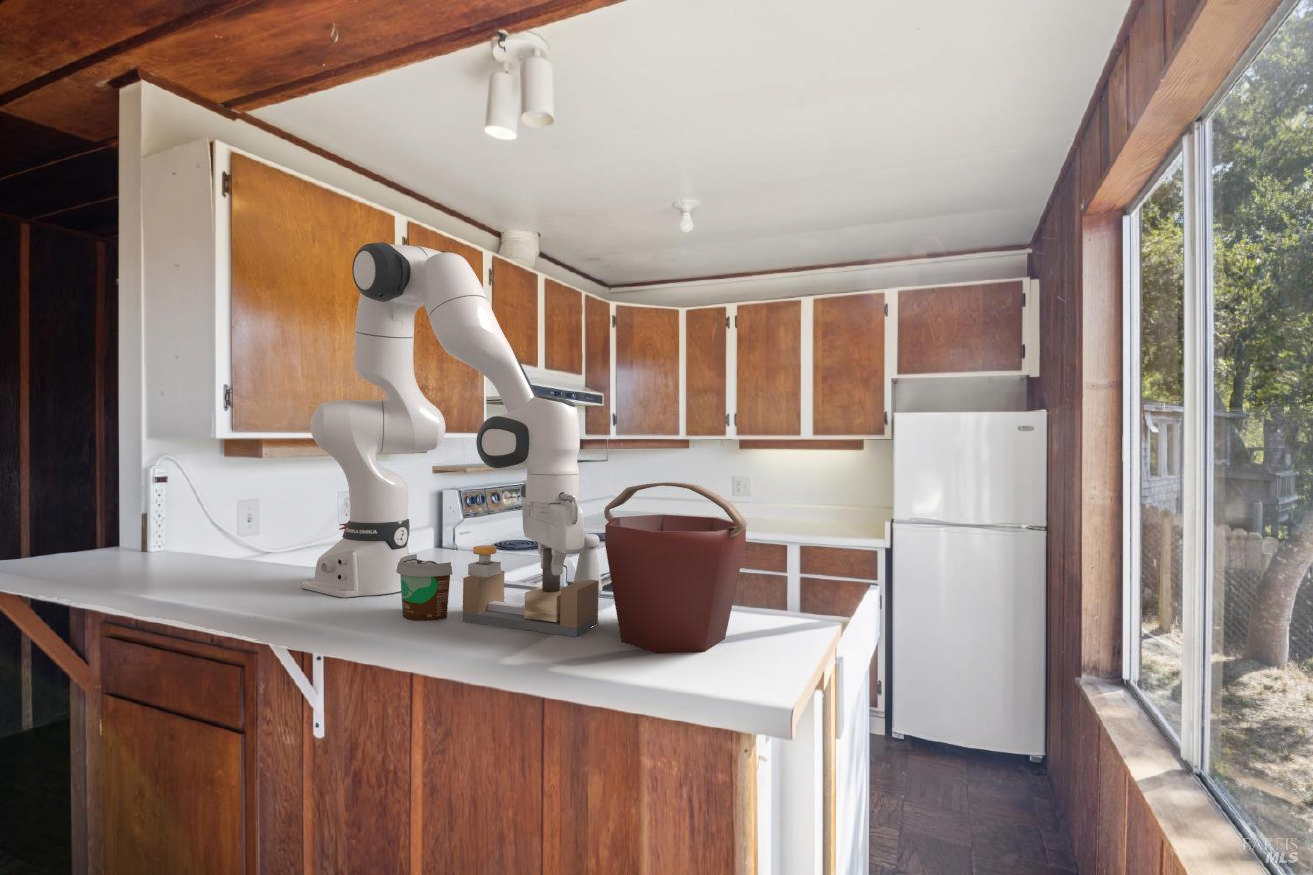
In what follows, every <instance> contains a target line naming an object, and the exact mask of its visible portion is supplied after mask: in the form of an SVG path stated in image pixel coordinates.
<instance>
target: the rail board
mask: <svg viewBox="0 0 1313 875" xmlns="http://www.w3.org/2000/svg"><path fill="white" fill-rule="evenodd" d="M501 565H502V563H501V561H496V560H491V562H490V564H489V565H481V564H479V560H478V561H475V562H471V563H468V564H467V568H468V570H467V571H468V572H467V576H465V577H463V578H462V579H463V580H462V622H466V623H471V624H472V623H473V624H479V625H488V626H494V627H502V628H508V629H509V628H510V629H515V630H516V629H517V630H523V631H530V632H536V633H537V632H539V633H543V634H552V635H560V636H565V635H566V636H565V637H573V638H577V637H579V636H581V635H582V634H584V633H586V632H587V631H589V630H590V628H591V627H592V626H594V625H596V624H597V625H599V598H598V593H599V581H598V580H588V579H582V580H580V581H577V582H575V583H574V582H572V583H570V584H568V585H566V587H563V588H561V601H560V613H559V621H557V622H551V621H544V620H536V619H528V618H524V613H525V603H524V604H523V603H522V604H521V603H516V602H515V603H514V602H507V601H505V570H502V568H501ZM597 625H596V626H597ZM594 627H595V626H594ZM592 628H593V627H592ZM592 628H591V629H592ZM588 629H589V630H588ZM585 631H586V632H585ZM583 632H584V633H583ZM581 633H582V634H581ZM580 634H581V635H580Z"/></svg>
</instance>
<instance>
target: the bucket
mask: <svg viewBox="0 0 1313 875" xmlns="http://www.w3.org/2000/svg"><path fill="white" fill-rule="evenodd" d="M663 486H664V487H675V488H676V487H677V488H683V489H687V490H690V491H692V492H695V493H697V494H698V495H701V496H703V497H705V498H706V499H708V500H710V501H711V502H712V503H714V504H715V505H716V506H718V507H720V508H721V509H723V510H724V512H725V513H726V515H727V516H728V517H729V518H730V519H731V520H728V519H726V518H725V519H724V518H722V517H718V516H716V517H714V516H699V515H698V516H697V515H695V516H694V515H682V514H681V515H679V514H647V515H646V514H645V515H634V516H633V515H631V516H628V515H627V516H618V517H617V516H615V517H614V515H613V514H612V512H611V511H610V510H612V509H615V508H617V507H620V506H621V505H624V504H625V503H626V502H628V501H629V499H631V498H632V497H633V496H634V495H635V494H636V493H637V492H638V491H642V490H647V489H650V488H655V487H663ZM603 512H604V513H603V514H604V518H605V519H606V521H607V522H606V524H605V526H604V527H605V528H604V529H605V530H604V531H605V532H604V538H605V539H604V545H605V547H604V548H605V553H606V560H607V564H608V569H609V570H608V571H609V576H610V582H611V588H612V594H613V599H614V605H615V611H616V617H617V624H618V630H619V636H620V641H621V643H623V644H626V645H630V646H631V647H636V648H638V649H642V650H644V651H648V652H650V653H654V654H676V653H677V654H679V653H682V654H683V653H705V652H707V651H708V650H710V649H712V648H713V647H715V646H716V645H718V644H720V643H721V642H722V641H724V640H725V639H726V635H727V630H728V626H729V622H730V616H731V612H732V609H733V608H732V607H733V603H734V599H735V594H736V589H737V585H738V581H739V576H740V571H741V566H742V562H743V556H744V551H745V547H746V544H747V543H746V542H747V541H746V539H747V537H746V536H747V534H746V533H747V532H746V531H747V524H748V523H747V521H746V520H745V517H743V515H742V514H741V513H740V511H739V510H738V509H737V507H736V506H734V504H732V503H731V502H729V501H728V500H726V499H725V498H724V497H722V496H720V495H719V494H717V493H715V492H713V491H711V490H709V489H707V488H705V487H703V486H701V485H699V484H692V483H685V482H676V481H675V482H672V481H668V482H667V481H666V482H654V483H645V484H639V485H638V484H637V485H633V486H628V487H626V488H625V489H624V490H623V491H622V492H620V494H619V495H617V496H616V497H615V498H614V499H613V500H612V501H611V502H609V503H608V504H607V505H606V506H605V508H604V510H603Z"/></svg>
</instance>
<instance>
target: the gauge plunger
mask: <svg viewBox="0 0 1313 875" xmlns="http://www.w3.org/2000/svg"><path fill="white" fill-rule="evenodd" d="M472 548H473V549H472V554H474V555H478V561H479V564H481V565H489V564H490V562H491V561H492V560H491V559H492V557H491V556H492V555H495V554H497V546H496V545H486V544H485V545H484V544H483V545H476V546H473V547H472Z"/></svg>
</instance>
